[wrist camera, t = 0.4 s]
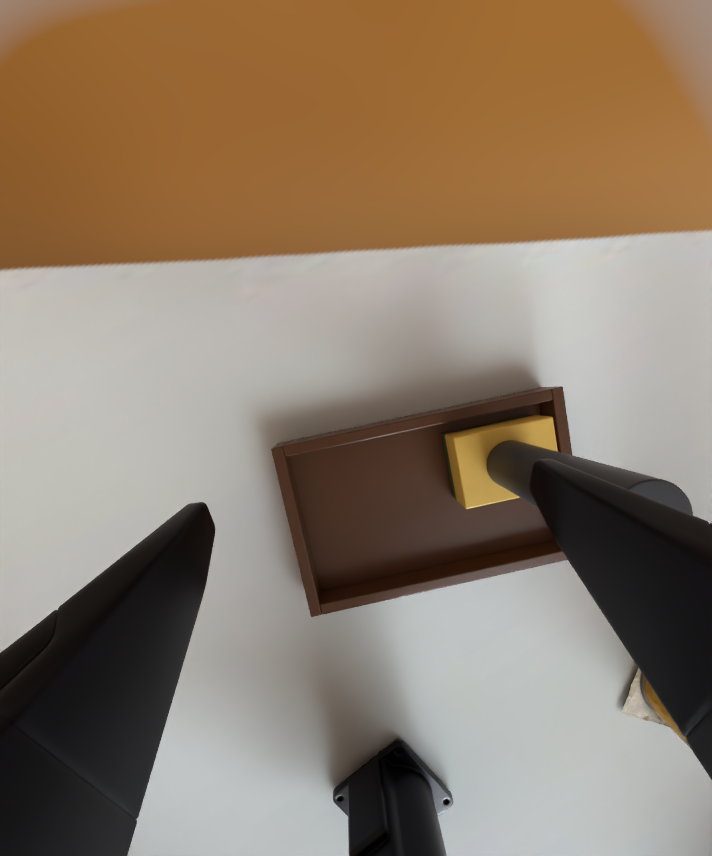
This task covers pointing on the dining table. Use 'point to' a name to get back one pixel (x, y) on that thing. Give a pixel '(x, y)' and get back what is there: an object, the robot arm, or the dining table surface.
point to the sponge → (529, 464)
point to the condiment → (648, 704)
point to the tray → (406, 507)
